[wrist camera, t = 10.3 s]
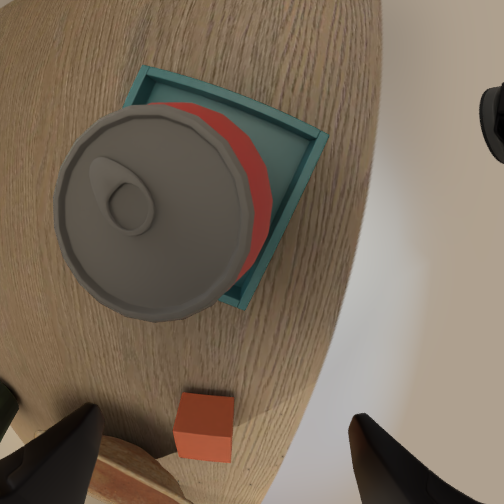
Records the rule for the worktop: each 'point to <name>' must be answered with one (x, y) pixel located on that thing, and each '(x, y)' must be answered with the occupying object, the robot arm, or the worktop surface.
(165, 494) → the bowl
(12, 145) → the worktop surface
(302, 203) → the worktop surface
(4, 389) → the potion bottle
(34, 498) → the robot arm
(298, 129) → the tray
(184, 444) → the terracotta block
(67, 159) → the beer can
